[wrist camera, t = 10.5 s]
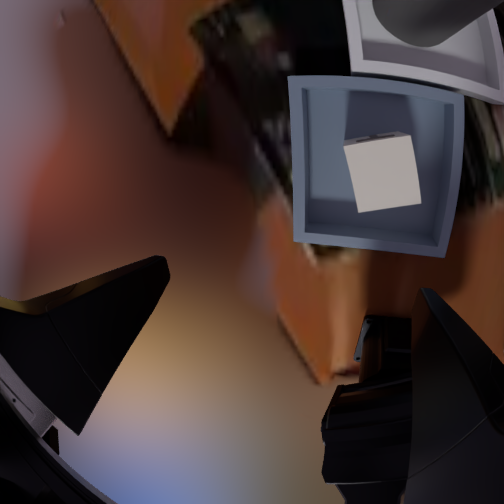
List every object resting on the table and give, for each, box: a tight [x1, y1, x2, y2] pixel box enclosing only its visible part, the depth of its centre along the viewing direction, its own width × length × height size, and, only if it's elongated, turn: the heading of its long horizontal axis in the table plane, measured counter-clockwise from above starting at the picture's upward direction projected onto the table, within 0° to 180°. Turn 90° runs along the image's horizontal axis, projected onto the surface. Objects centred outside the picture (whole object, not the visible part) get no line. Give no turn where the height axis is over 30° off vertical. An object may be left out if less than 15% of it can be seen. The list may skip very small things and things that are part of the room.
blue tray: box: [288, 76, 464, 258], centre depth 16 cm, size 12×12×2 cm
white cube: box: [343, 131, 421, 213], centre depth 15 cm, size 4×4×4 cm
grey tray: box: [342, 0, 504, 105], centre depth 9 cm, size 12×12×2 cm
